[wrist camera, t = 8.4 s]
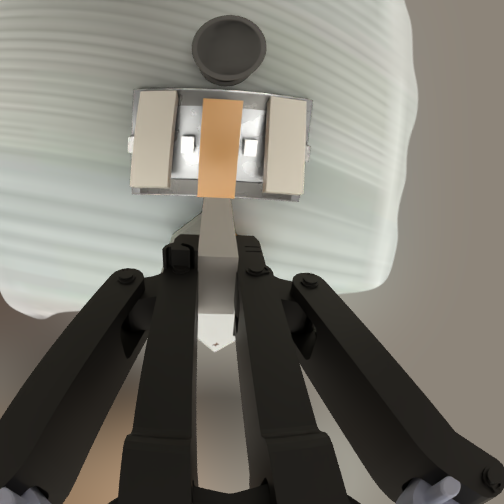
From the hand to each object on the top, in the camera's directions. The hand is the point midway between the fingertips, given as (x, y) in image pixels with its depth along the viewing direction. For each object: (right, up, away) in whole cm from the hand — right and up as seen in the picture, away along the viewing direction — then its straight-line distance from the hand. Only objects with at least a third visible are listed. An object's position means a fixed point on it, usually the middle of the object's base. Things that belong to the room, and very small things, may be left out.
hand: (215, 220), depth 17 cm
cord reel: (-1, +18, +9) cm, 20 cm away
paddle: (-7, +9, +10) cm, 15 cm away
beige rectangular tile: (+5, +8, +12) cm, 15 cm away
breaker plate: (-1, +10, +13) cm, 17 cm away
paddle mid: (-1, +8, +10) cm, 13 cm away
